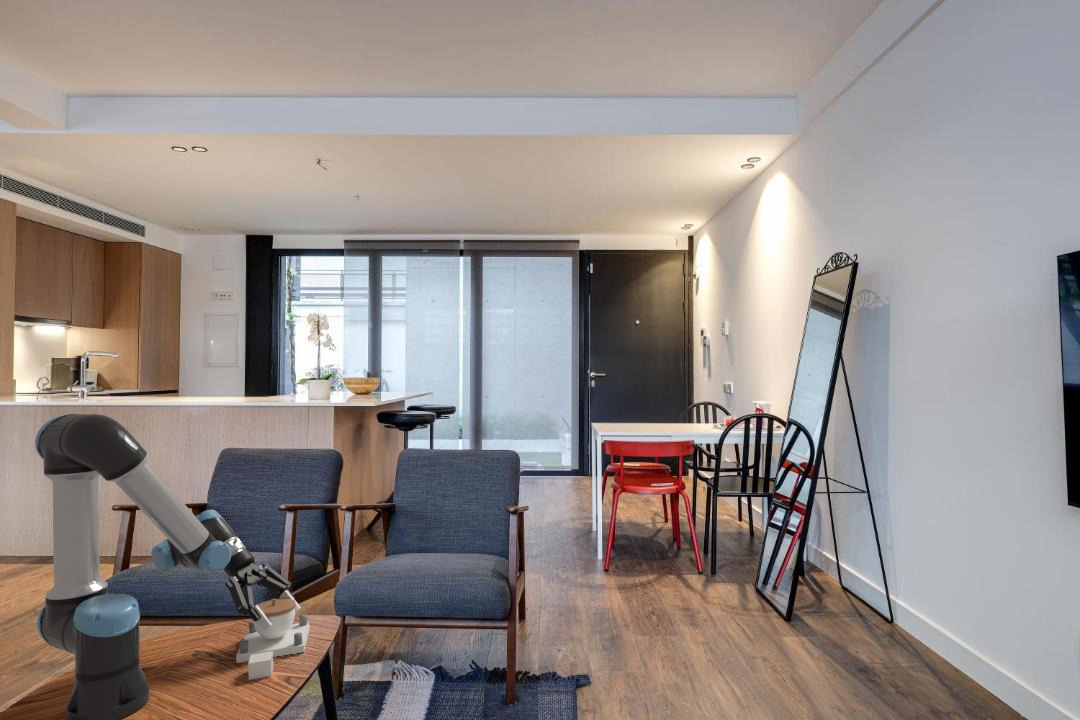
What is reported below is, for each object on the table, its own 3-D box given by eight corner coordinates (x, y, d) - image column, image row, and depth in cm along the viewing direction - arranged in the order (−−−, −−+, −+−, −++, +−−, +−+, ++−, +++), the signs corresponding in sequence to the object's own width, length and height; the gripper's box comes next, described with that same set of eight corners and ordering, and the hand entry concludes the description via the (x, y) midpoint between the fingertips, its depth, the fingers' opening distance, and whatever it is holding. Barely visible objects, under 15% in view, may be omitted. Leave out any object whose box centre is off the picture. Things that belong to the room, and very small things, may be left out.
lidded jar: (303, 626, 169) (303, 592, 169) (281, 643, 158) (281, 607, 158) (267, 625, 170) (267, 591, 171) (243, 642, 160) (243, 606, 160)
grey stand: (236, 663, 154) (236, 645, 155) (248, 637, 170) (248, 621, 170) (304, 653, 159) (303, 635, 159) (309, 628, 174) (309, 613, 174)
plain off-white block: (248, 680, 145) (248, 663, 146) (251, 671, 150) (251, 654, 150) (271, 676, 147) (271, 659, 147) (273, 667, 152) (273, 651, 152)
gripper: (208, 561, 157) (260, 627, 152) (271, 537, 179) (318, 594, 174) (192, 580, 158) (243, 647, 153) (257, 554, 180) (303, 612, 175)
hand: (283, 619), depth 164 cm, fingers closed on lidded jar, 11 cm apart
